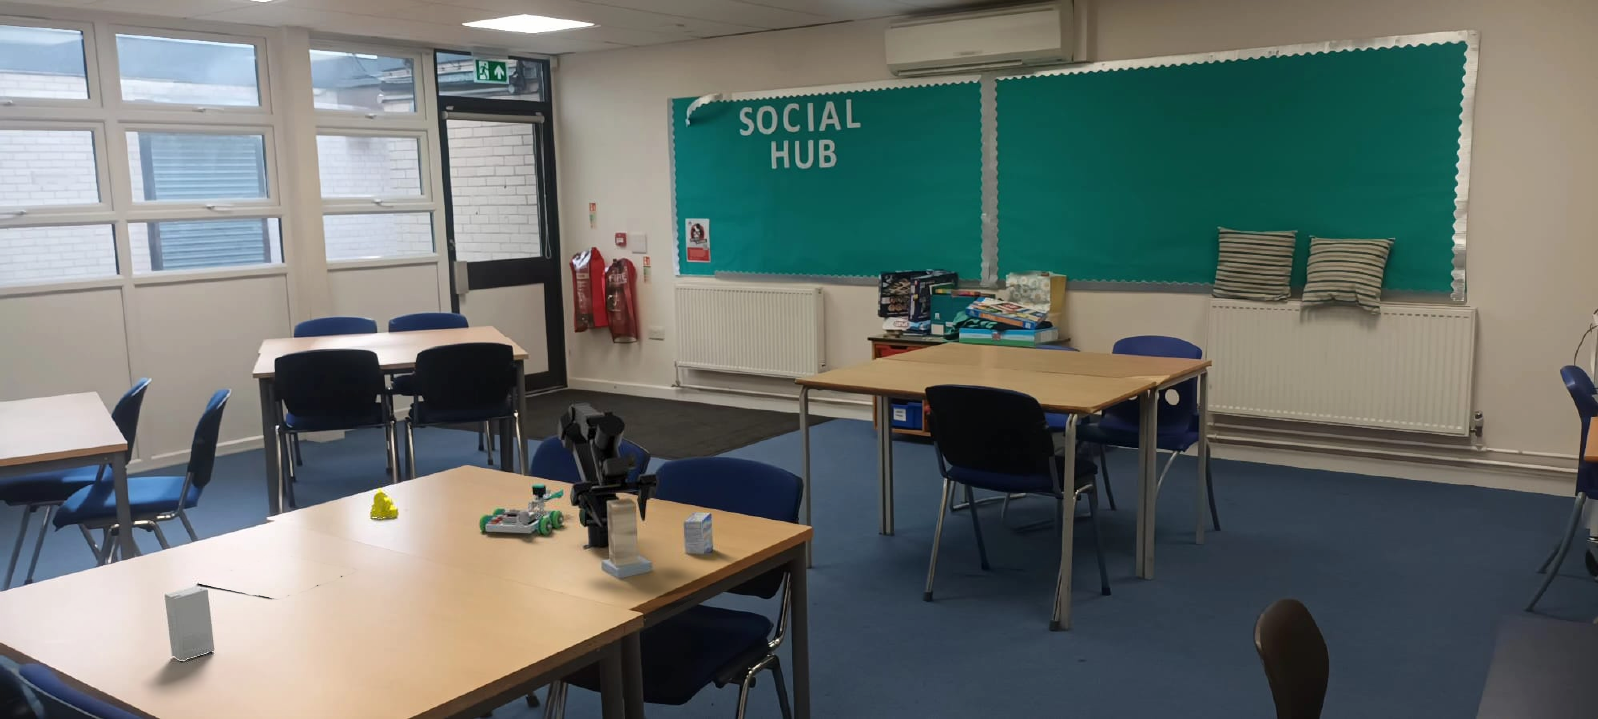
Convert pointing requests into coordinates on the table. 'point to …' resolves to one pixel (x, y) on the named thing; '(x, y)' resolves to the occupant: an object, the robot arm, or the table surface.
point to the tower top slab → (627, 568)
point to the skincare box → (189, 622)
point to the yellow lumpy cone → (383, 506)
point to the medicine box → (698, 533)
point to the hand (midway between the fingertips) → (623, 522)
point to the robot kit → (525, 515)
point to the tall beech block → (622, 532)
